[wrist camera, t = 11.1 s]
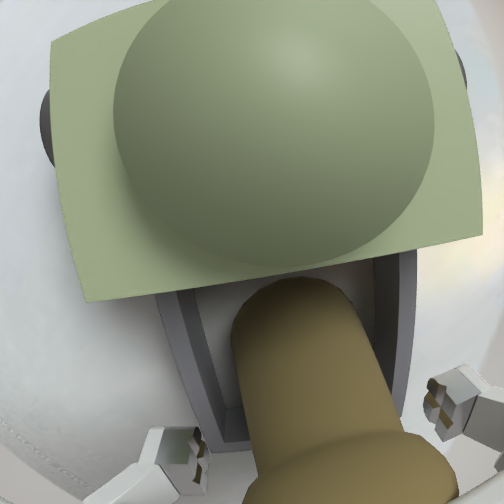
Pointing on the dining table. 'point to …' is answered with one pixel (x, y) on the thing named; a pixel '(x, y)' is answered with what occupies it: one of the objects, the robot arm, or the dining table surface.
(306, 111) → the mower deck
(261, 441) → the brown knobbed peg
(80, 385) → the dining table surface
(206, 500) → the dining table surface
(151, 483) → the robot arm
